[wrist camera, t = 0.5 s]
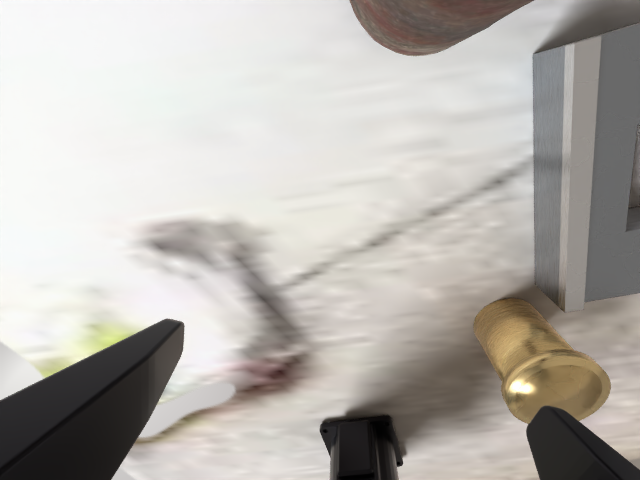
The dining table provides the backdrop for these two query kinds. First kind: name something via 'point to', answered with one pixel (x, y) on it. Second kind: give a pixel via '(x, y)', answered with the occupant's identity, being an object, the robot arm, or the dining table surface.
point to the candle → (428, 21)
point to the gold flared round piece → (538, 362)
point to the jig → (586, 168)
